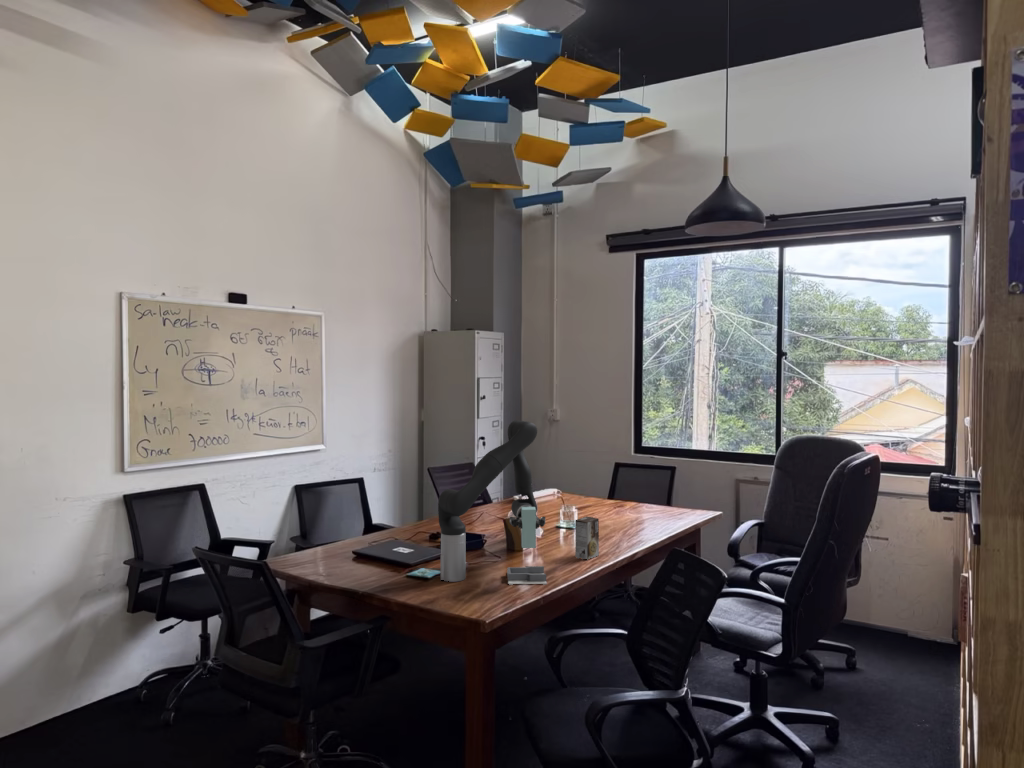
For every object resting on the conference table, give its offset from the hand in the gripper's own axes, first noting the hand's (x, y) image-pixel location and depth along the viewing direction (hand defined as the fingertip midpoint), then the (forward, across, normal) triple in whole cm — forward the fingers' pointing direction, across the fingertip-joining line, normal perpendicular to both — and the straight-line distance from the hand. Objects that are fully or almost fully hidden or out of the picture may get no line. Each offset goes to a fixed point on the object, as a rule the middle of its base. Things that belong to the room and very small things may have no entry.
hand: (529, 526), depth 239 cm
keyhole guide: (-9, 0, +22) cm, 24 cm away
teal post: (-3, 0, +8) cm, 8 cm away
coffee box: (-38, +27, +22) cm, 52 cm away
